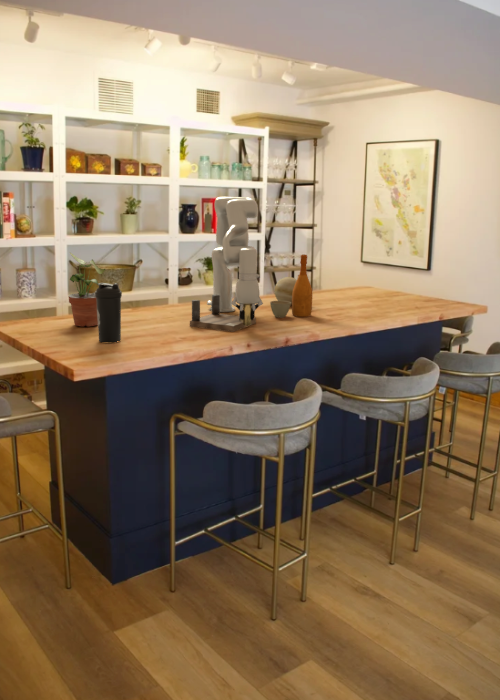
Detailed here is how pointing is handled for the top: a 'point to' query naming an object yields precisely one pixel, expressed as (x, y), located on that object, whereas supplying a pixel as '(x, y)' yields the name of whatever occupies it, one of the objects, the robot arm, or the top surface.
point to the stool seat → (216, 318)
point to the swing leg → (246, 314)
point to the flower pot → (280, 308)
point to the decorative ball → (285, 289)
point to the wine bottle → (302, 292)
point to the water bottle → (109, 312)
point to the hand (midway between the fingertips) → (246, 319)
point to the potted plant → (84, 298)
